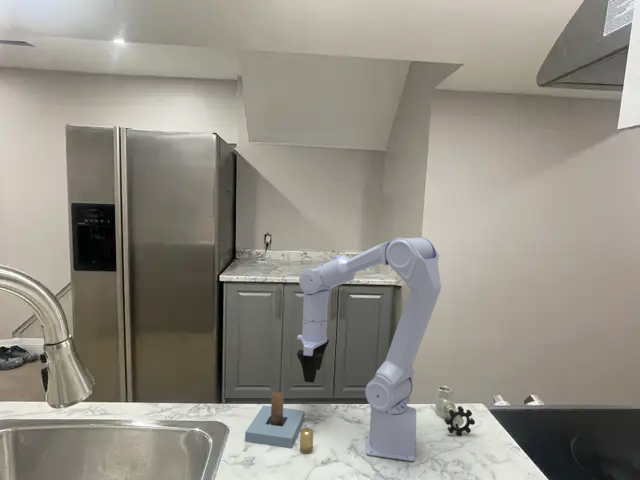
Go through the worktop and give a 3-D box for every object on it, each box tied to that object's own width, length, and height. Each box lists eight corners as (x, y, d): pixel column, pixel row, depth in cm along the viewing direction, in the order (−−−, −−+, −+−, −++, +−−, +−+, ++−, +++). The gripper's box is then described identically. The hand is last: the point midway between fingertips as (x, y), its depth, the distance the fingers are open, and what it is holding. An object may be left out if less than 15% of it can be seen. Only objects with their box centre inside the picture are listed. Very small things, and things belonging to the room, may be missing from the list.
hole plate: (304, 419, 96) (304, 410, 96) (291, 447, 84) (292, 438, 84) (263, 413, 98) (263, 405, 97) (245, 441, 86) (245, 431, 86)
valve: (426, 410, 103) (445, 437, 91) (428, 384, 102) (447, 408, 91) (452, 410, 103) (474, 436, 92) (454, 384, 103) (476, 408, 91)
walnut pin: (283, 427, 92) (284, 392, 91) (280, 433, 89) (282, 397, 89) (272, 425, 92) (273, 391, 92) (269, 431, 90) (270, 396, 89)
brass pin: (313, 447, 85) (314, 428, 84) (311, 454, 82) (312, 435, 82) (301, 445, 85) (302, 427, 85) (298, 453, 83) (299, 433, 82)
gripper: (304, 310, 105) (302, 362, 106) (290, 325, 91) (288, 385, 92) (332, 312, 104) (329, 365, 105) (322, 328, 89) (319, 389, 90)
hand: (312, 375), depth 98 cm, fingers open, 7 cm apart
